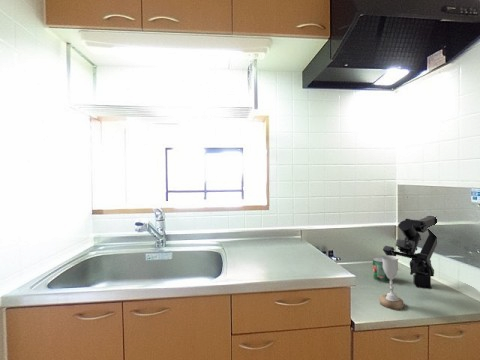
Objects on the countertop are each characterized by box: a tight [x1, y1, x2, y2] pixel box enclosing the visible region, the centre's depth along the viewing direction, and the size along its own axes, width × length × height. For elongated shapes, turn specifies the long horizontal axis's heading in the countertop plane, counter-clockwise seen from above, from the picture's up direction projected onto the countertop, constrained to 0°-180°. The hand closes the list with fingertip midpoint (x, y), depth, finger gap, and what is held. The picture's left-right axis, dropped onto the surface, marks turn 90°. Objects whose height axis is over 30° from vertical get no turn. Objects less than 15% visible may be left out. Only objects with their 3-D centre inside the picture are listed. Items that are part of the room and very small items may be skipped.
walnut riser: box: [379, 294, 404, 311], centre depth 116 cm, size 9×9×2 cm
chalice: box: [380, 254, 400, 301], centre depth 117 cm, size 7×7×18 cm
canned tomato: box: [372, 256, 390, 284], centre depth 143 cm, size 8×8×11 cm
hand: (399, 271), depth 121 cm, fingers open, 9 cm apart
